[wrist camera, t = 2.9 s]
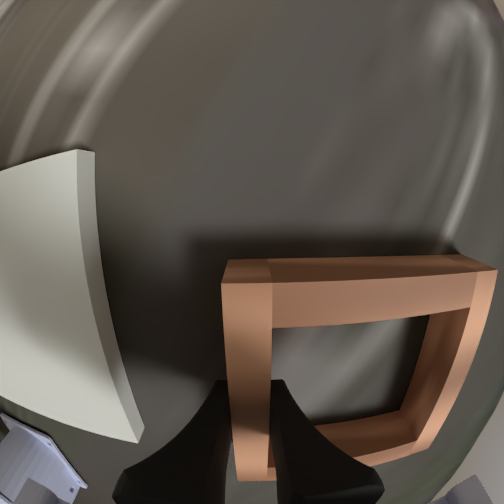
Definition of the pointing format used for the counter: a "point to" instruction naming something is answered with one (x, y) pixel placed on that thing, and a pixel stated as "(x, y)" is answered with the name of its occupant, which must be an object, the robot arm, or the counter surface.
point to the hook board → (59, 300)
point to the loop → (346, 312)
